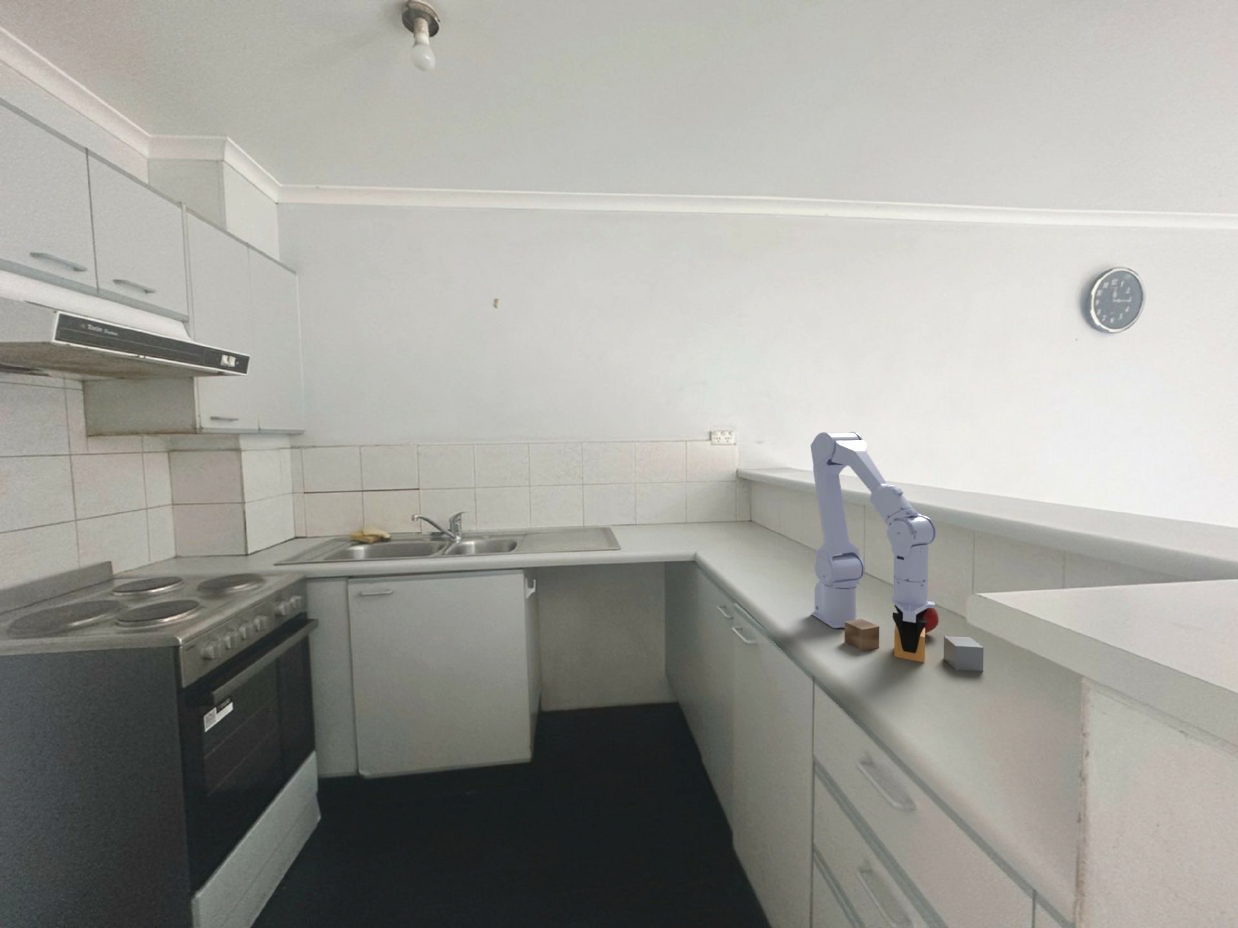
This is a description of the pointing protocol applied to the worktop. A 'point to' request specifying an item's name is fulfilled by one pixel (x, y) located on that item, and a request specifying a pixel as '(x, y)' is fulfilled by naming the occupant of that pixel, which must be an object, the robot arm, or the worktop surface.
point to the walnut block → (862, 634)
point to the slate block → (963, 653)
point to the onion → (931, 619)
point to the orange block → (907, 655)
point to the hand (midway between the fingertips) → (909, 646)
